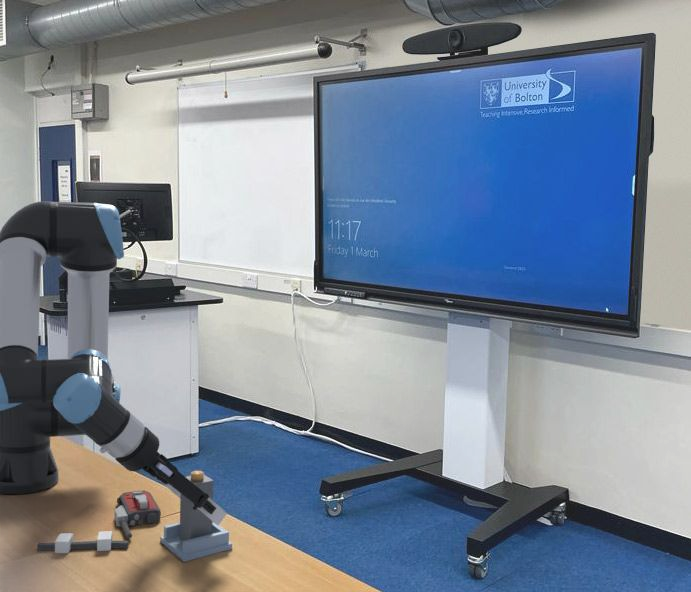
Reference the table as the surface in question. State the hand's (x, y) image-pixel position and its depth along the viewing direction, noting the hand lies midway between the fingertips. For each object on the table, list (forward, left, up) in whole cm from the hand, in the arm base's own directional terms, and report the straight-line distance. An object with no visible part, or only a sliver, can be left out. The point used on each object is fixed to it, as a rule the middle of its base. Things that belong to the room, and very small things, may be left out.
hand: (204, 506), depth 146 cm
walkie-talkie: (-17, -6, -8) cm, 20 cm away
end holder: (0, -2, -7) cm, 7 cm away
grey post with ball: (0, -2, -6) cm, 6 cm away
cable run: (-10, -20, -7) cm, 23 cm away
